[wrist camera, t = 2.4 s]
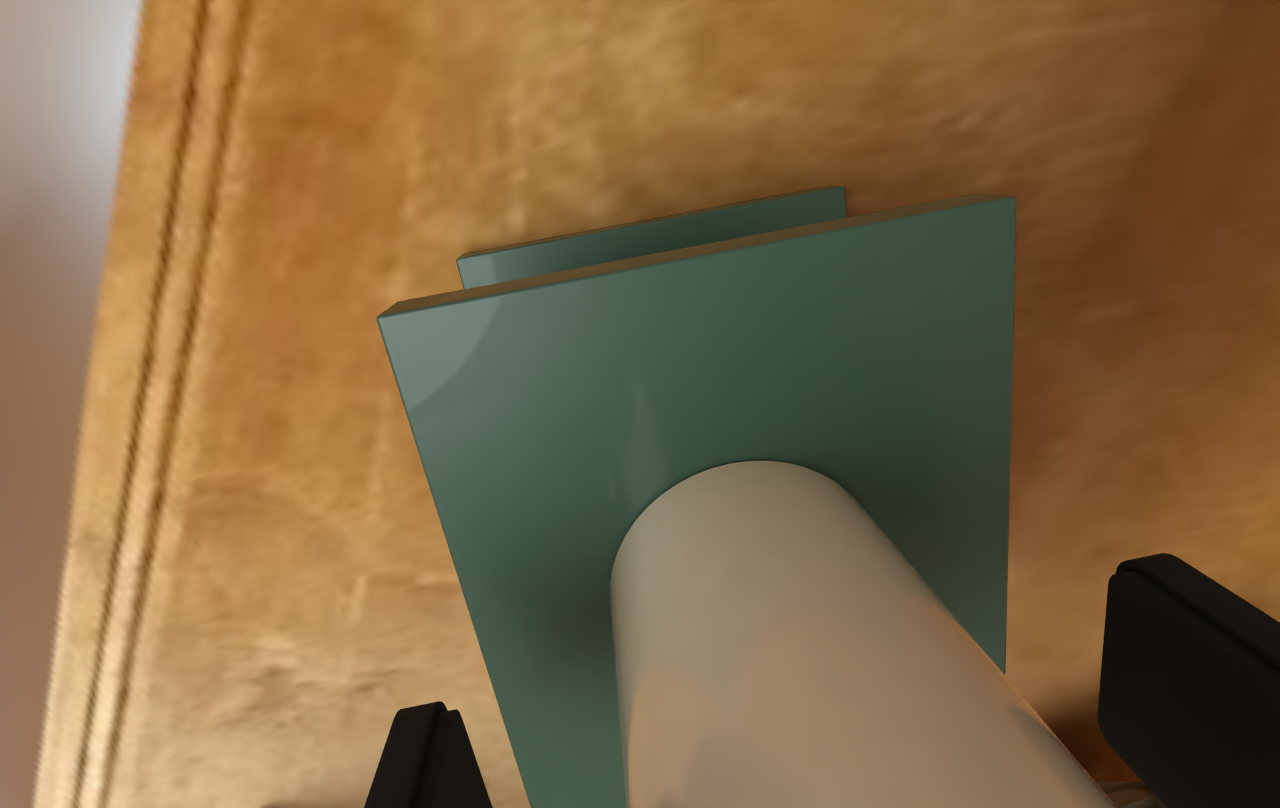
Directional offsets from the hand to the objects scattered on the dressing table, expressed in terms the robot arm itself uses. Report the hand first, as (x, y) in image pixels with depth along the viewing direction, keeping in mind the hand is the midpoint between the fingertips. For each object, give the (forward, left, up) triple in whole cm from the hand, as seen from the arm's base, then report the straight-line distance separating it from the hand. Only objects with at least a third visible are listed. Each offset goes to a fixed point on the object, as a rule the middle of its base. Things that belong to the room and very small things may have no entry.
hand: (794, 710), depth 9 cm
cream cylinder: (0, 0, -3) cm, 3 cm away
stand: (0, 0, -11) cm, 11 cm away
